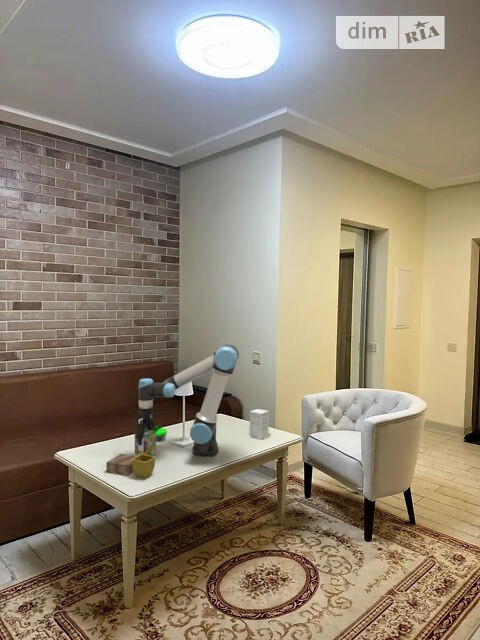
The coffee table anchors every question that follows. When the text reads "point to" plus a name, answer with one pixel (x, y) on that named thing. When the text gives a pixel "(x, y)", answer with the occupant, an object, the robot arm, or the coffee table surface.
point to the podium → (121, 465)
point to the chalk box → (147, 442)
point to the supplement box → (259, 423)
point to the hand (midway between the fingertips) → (145, 447)
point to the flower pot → (143, 465)
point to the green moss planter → (160, 432)
